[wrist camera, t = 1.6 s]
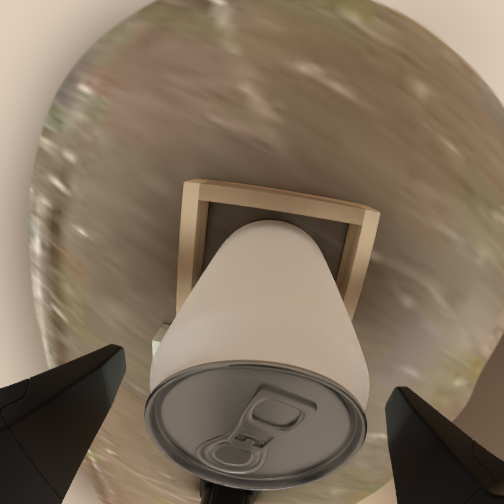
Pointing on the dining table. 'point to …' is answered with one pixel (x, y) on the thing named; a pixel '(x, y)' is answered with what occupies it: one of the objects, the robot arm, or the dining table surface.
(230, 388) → the can
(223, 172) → the dining table surface
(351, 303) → the collar
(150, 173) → the dining table surface
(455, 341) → the dining table surface
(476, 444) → the robot arm
